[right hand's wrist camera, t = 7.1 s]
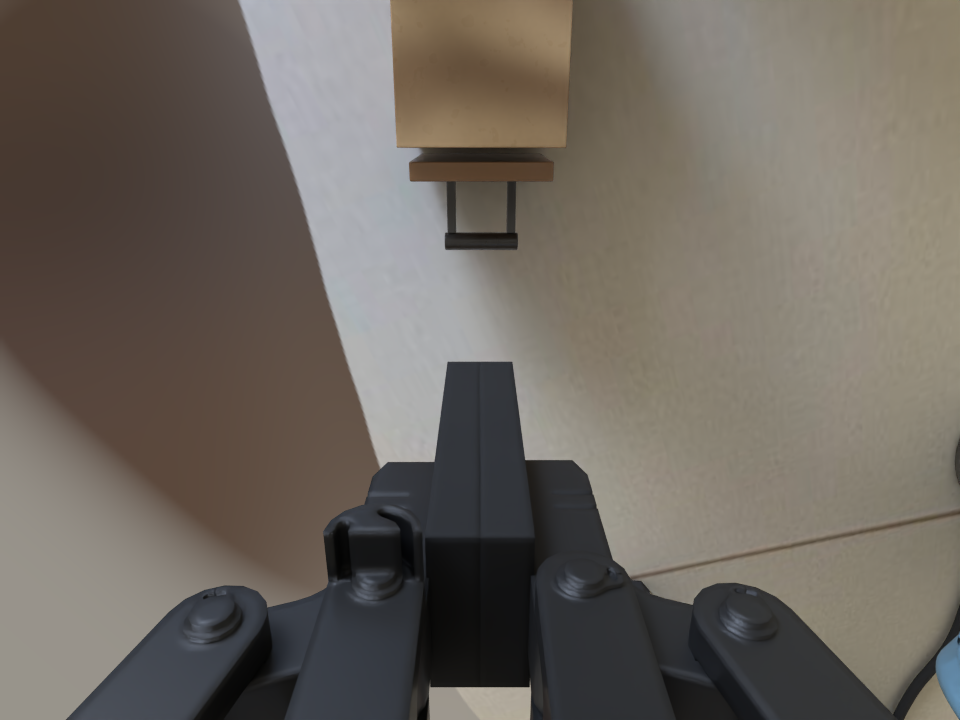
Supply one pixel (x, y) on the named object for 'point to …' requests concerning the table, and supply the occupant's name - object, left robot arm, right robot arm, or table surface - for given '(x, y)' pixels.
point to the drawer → (481, 170)
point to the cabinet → (481, 73)
